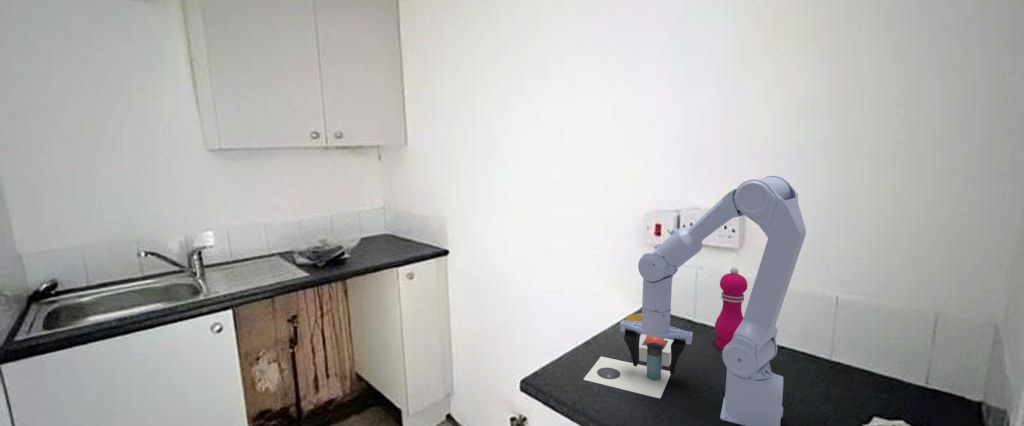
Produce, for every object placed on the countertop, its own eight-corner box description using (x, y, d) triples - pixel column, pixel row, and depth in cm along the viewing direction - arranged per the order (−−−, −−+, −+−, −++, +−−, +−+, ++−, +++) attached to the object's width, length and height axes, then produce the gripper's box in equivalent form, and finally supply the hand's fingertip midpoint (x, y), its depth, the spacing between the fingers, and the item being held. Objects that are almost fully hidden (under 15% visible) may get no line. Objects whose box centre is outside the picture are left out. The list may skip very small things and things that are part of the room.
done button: (665, 345, 112) (665, 335, 111) (661, 352, 108) (662, 341, 108) (648, 341, 113) (648, 332, 113) (644, 348, 110) (644, 338, 110)
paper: (671, 373, 104) (671, 371, 104) (660, 399, 93) (660, 398, 93) (601, 357, 111) (601, 356, 111) (583, 380, 101) (583, 379, 101)
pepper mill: (751, 353, 113) (757, 271, 109) (720, 353, 113) (725, 271, 109) (737, 340, 120) (742, 263, 116) (708, 340, 120) (713, 263, 117)
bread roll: (664, 330, 126) (665, 316, 126) (636, 336, 123) (637, 321, 123) (645, 319, 134) (645, 306, 133) (618, 324, 131) (618, 311, 130)
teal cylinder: (662, 375, 102) (663, 344, 101) (659, 381, 99) (660, 350, 98) (648, 371, 104) (649, 341, 102) (644, 378, 101) (645, 347, 100)
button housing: (675, 353, 113) (675, 339, 112) (668, 368, 106) (669, 353, 105) (641, 346, 117) (641, 333, 116) (633, 360, 110) (633, 346, 109)
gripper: (695, 307, 99) (692, 367, 101) (627, 296, 106) (625, 353, 108) (690, 318, 93) (687, 382, 95) (618, 306, 100) (616, 366, 102)
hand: (654, 368), depth 101 cm, fingers open, 7 cm apart
